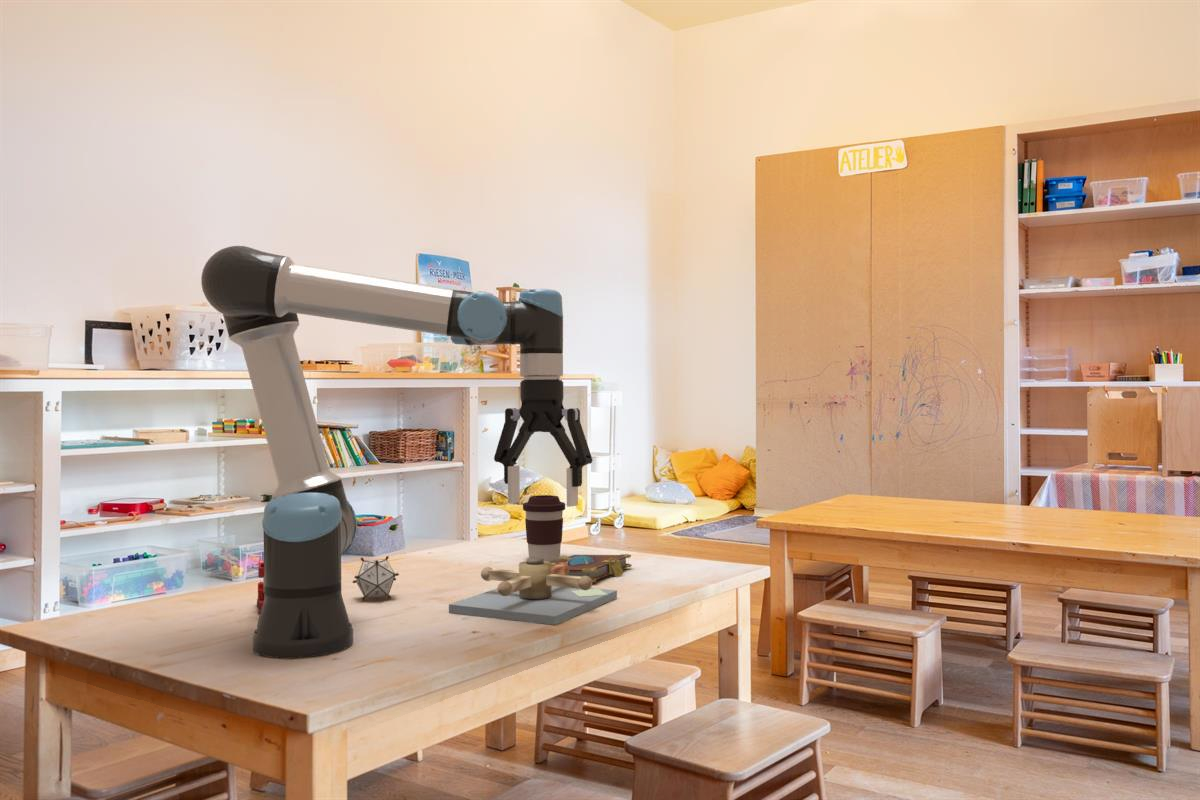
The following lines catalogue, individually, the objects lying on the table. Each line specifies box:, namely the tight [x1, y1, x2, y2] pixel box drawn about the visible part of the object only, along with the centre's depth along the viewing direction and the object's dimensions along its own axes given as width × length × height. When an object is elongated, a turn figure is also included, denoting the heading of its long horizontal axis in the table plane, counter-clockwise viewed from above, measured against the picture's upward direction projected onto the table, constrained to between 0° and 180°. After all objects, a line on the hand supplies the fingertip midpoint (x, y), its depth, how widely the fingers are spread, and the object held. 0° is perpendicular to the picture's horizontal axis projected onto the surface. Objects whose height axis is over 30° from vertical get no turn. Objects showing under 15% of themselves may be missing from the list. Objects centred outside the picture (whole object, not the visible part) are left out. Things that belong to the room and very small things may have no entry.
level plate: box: [448, 586, 618, 626], centre depth 184 cm, size 24×22×3 cm
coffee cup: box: [522, 494, 566, 563], centre depth 233 cm, size 10×10×15 cm
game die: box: [352, 555, 400, 602], centre depth 191 cm, size 9×8×10 cm
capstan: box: [480, 557, 593, 599], centre depth 184 cm, size 24×24×7 cm
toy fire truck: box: [256, 561, 264, 614], centre depth 181 cm, size 3×14×10 cm, turn 21°
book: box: [551, 553, 633, 583], centre depth 213 cm, size 16×25×5 cm, turn 155°
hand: (542, 504), depth 173 cm, fingers open, 11 cm apart
